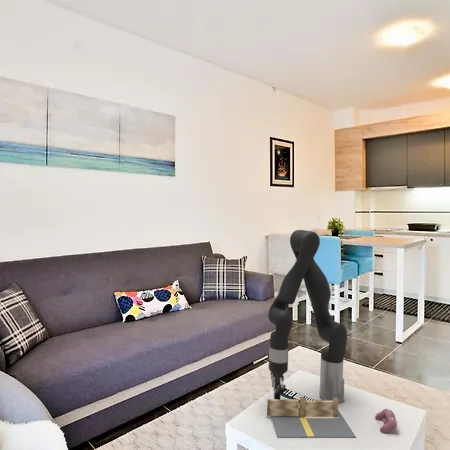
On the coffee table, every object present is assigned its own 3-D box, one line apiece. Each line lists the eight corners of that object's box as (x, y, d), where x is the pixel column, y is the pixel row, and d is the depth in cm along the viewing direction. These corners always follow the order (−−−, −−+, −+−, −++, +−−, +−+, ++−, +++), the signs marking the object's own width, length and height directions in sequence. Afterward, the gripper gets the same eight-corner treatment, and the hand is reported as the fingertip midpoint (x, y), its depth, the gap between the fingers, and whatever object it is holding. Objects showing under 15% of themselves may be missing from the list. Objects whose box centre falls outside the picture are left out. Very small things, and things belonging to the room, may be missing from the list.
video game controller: (391, 439, 130) (401, 423, 129) (379, 431, 131) (389, 416, 130) (384, 423, 139) (394, 408, 139) (373, 416, 140) (382, 402, 139)
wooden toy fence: (336, 415, 141) (337, 397, 141) (338, 419, 139) (339, 400, 138) (298, 415, 140) (299, 396, 140) (299, 419, 138) (300, 399, 138)
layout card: (337, 408, 146) (337, 407, 146) (355, 437, 127) (355, 436, 127) (268, 408, 145) (268, 407, 145) (277, 437, 126) (277, 436, 126)
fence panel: (297, 414, 140) (298, 399, 139) (298, 416, 138) (299, 401, 138) (266, 414, 139) (267, 399, 139) (267, 416, 138) (267, 400, 138)
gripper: (293, 365, 136) (291, 410, 137) (282, 351, 149) (281, 392, 150) (273, 365, 135) (272, 411, 136) (264, 352, 148) (263, 393, 149)
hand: (276, 401), depth 143 cm, fingers closed
